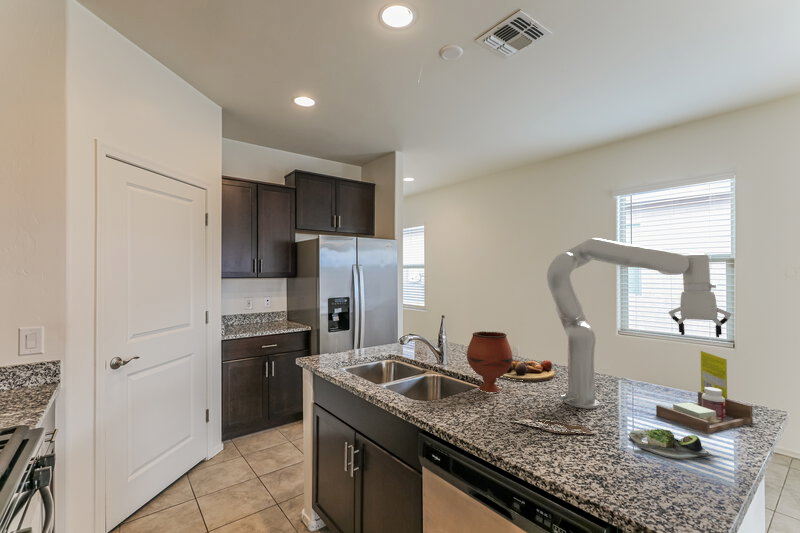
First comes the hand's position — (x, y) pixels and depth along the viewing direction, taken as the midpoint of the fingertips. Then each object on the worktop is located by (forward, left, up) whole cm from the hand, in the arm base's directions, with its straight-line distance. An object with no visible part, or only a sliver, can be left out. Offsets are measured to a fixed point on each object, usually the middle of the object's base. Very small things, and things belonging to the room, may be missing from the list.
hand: (699, 335), depth 130 cm
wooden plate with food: (-22, +69, -30) cm, 78 cm away
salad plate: (-34, -11, -30) cm, 46 cm away
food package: (+15, +4, -29) cm, 33 cm away
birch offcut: (-10, -4, -27) cm, 29 cm away
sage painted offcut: (-11, -4, -24) cm, 27 cm away
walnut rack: (-5, -4, -29) cm, 30 cm away
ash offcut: (-10, -3, -26) cm, 28 cm away
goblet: (-54, +51, -29) cm, 80 cm away
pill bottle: (0, -4, -29) cm, 29 cm away
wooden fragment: (-57, +12, -29) cm, 65 cm away
